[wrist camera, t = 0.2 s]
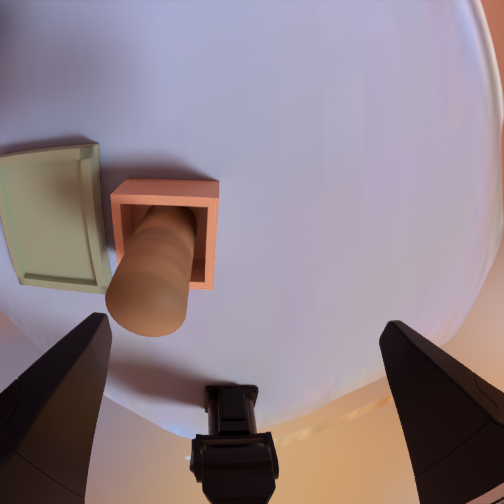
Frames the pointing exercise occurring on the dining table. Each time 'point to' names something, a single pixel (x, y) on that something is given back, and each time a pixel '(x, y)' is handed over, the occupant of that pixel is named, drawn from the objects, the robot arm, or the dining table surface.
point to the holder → (177, 194)
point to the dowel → (155, 273)
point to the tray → (55, 217)
